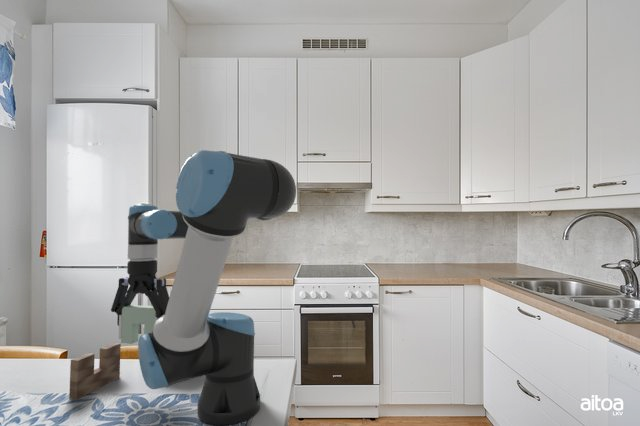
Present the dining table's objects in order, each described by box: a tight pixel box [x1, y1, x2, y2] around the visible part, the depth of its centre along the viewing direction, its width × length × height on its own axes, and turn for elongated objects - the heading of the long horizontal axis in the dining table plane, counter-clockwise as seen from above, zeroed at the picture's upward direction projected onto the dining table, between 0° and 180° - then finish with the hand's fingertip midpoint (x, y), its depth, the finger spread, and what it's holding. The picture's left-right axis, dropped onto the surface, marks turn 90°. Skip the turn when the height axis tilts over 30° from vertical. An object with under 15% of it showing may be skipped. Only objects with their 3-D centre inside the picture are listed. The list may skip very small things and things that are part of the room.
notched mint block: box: [120, 304, 158, 345], centre depth 97 cm, size 11×2×10 cm, turn 76°
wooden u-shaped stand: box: [68, 342, 122, 400], centre depth 98 cm, size 14×2×10 cm, turn 166°
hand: (141, 338), depth 96 cm, fingers closed on notched mint block, 11 cm apart
